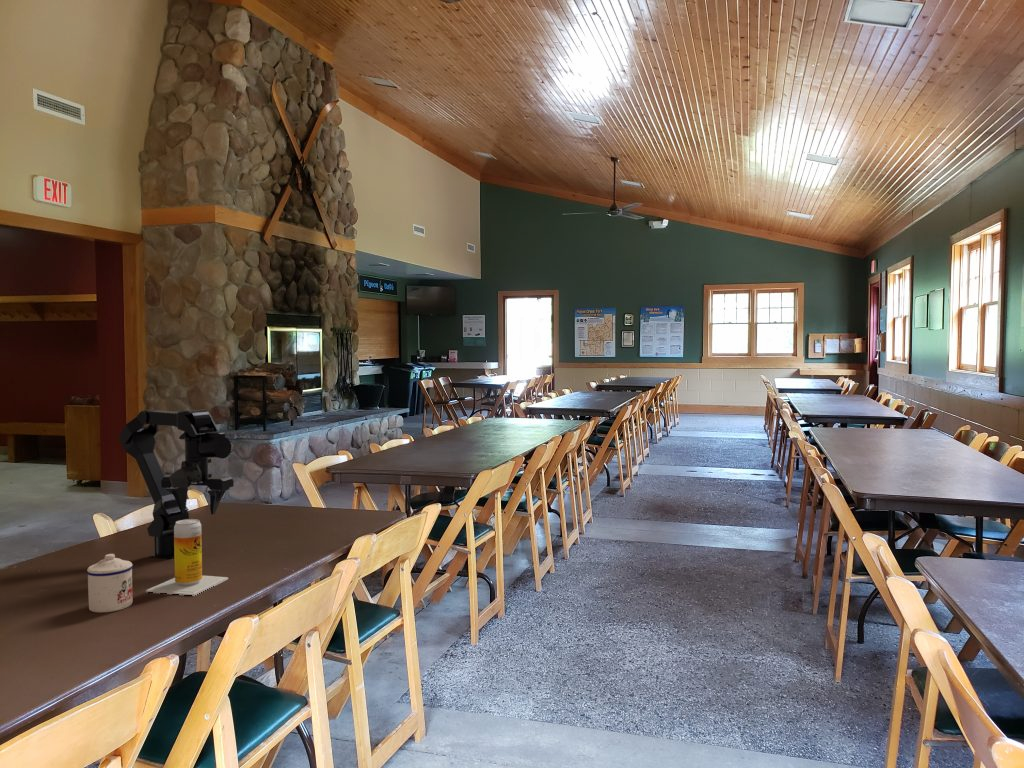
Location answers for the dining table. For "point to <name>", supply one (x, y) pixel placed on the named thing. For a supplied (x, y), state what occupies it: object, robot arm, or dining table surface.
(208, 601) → the dining table surface
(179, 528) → the beer can
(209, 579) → the coaster
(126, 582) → the teacup with lid
